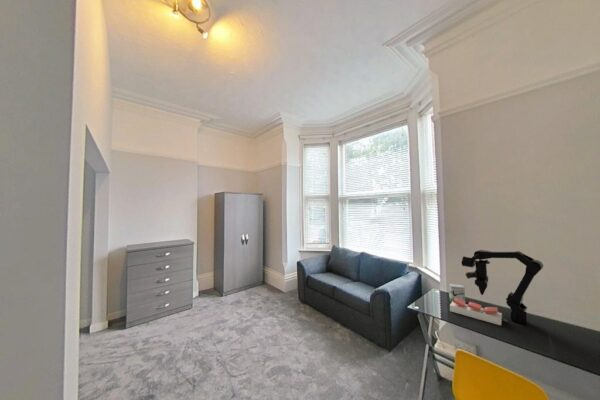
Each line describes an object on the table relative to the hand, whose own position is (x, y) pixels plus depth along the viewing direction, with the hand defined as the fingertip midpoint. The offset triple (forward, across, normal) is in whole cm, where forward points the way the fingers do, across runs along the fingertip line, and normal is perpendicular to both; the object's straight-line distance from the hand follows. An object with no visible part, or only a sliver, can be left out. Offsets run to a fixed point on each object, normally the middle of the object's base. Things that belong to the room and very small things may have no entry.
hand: (482, 292), depth 144 cm
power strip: (+12, +12, -4) cm, 17 cm away
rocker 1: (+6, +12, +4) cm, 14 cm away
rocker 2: (+6, +12, -4) cm, 14 cm away
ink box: (+12, -5, -15) cm, 20 cm away
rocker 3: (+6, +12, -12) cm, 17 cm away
